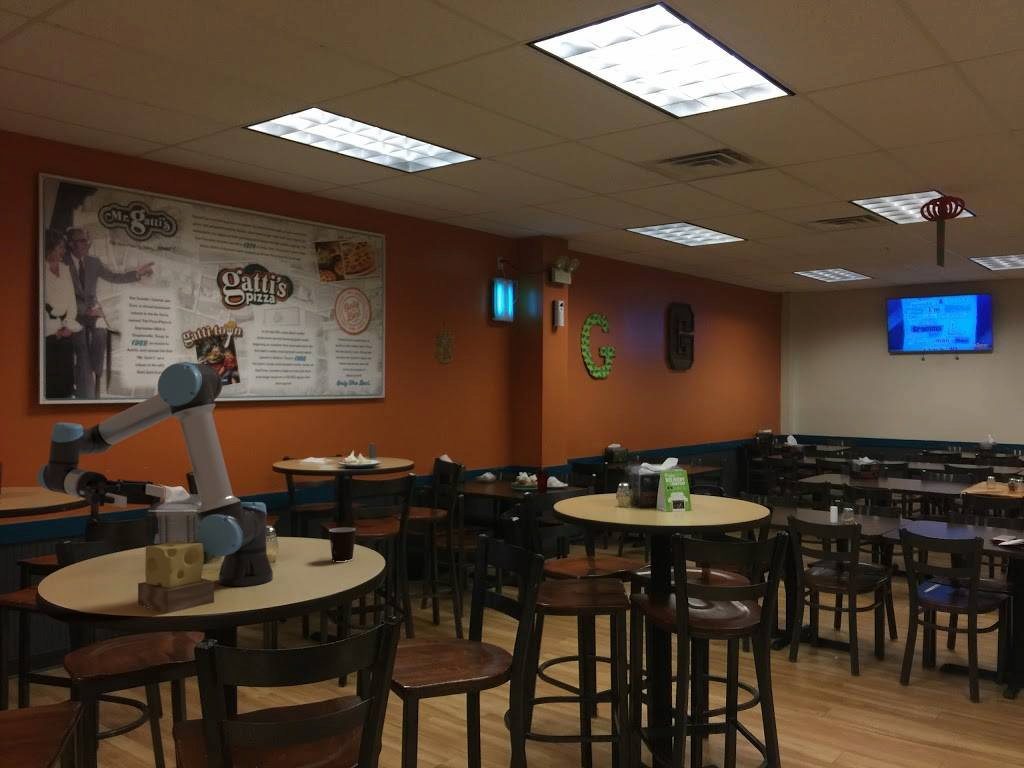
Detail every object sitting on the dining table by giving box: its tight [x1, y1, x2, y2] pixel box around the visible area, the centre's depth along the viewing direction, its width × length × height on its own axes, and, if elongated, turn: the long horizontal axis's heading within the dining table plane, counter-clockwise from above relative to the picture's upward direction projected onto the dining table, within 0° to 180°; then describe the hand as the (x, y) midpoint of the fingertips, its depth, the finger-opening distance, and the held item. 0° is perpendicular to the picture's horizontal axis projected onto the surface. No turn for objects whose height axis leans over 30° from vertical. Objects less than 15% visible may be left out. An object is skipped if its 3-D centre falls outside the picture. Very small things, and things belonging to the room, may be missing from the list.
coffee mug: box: [328, 527, 357, 561], centre depth 274 cm, size 12×9×10 cm
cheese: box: [145, 540, 205, 589], centre depth 218 cm, size 10×11×10 cm
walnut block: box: [137, 577, 215, 614], centre depth 218 cm, size 14×13×6 cm
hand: (145, 497), depth 224 cm, fingers open, 13 cm apart
